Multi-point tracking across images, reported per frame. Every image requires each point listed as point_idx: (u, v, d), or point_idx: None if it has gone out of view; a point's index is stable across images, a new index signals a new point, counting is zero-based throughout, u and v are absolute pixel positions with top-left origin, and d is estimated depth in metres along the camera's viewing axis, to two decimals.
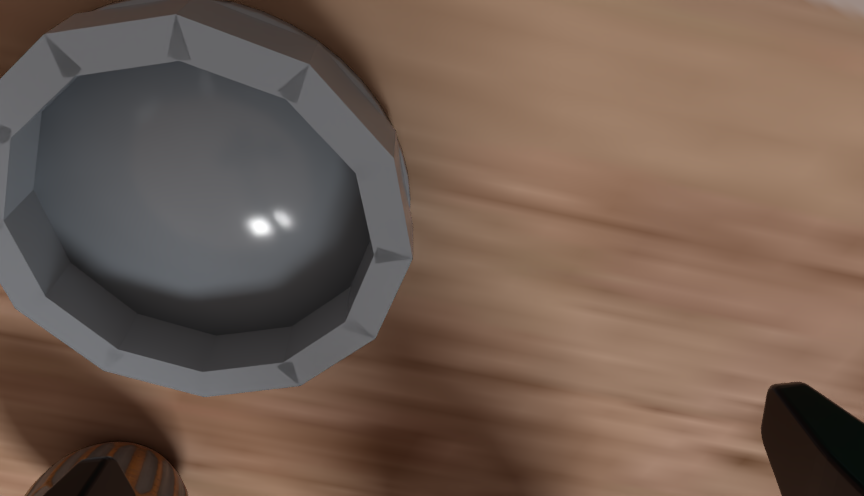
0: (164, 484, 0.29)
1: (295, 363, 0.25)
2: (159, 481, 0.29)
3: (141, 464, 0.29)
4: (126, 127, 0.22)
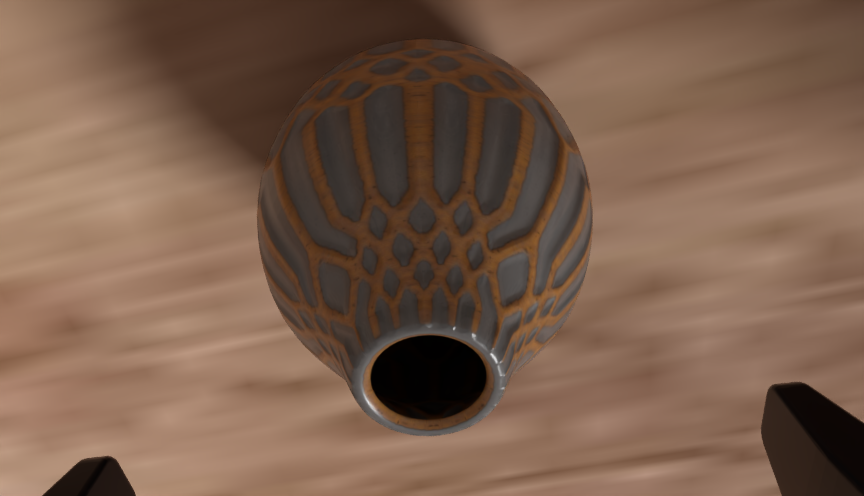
0: (484, 51, 0.14)
1: None
2: (472, 47, 0.14)
3: None
4: None
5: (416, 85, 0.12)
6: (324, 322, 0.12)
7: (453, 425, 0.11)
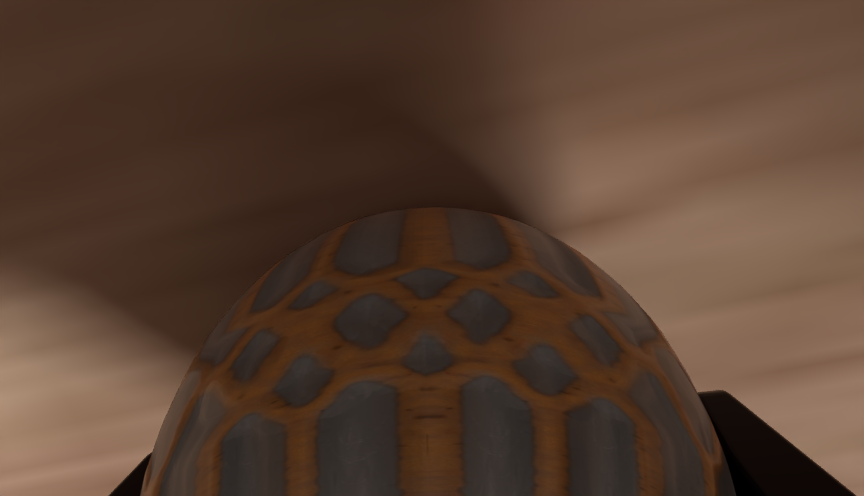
0: (542, 244, 0.08)
1: None
2: (522, 238, 0.08)
3: (442, 216, 0.08)
4: None
5: (424, 386, 0.06)
6: None
7: None
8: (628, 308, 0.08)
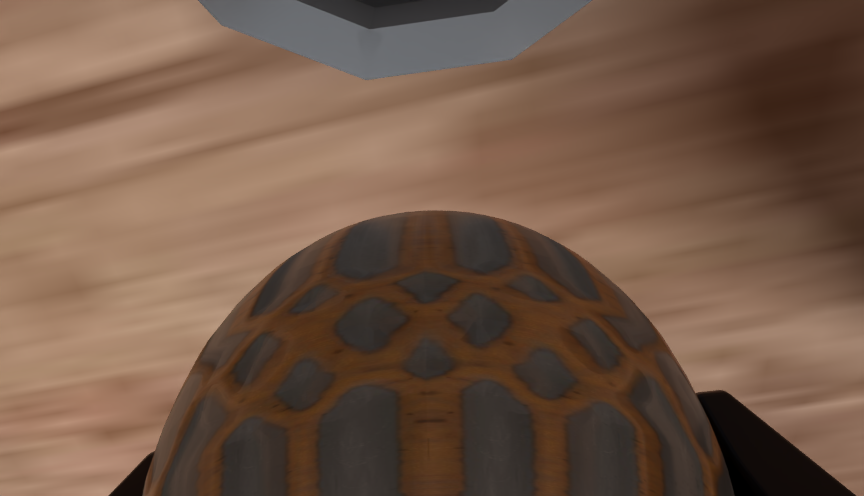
0: (543, 247, 0.08)
1: None
2: (523, 242, 0.08)
3: (443, 220, 0.09)
4: None
5: (426, 390, 0.06)
6: None
7: None
8: (628, 312, 0.08)
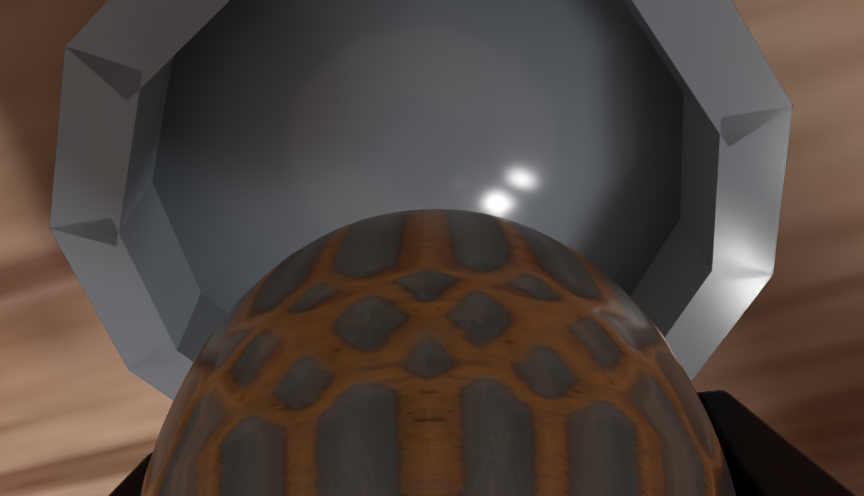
0: (543, 246, 0.08)
1: None
2: (523, 240, 0.08)
3: (442, 218, 0.08)
4: (261, 143, 0.14)
5: (426, 389, 0.06)
6: None
7: None
8: (628, 310, 0.08)
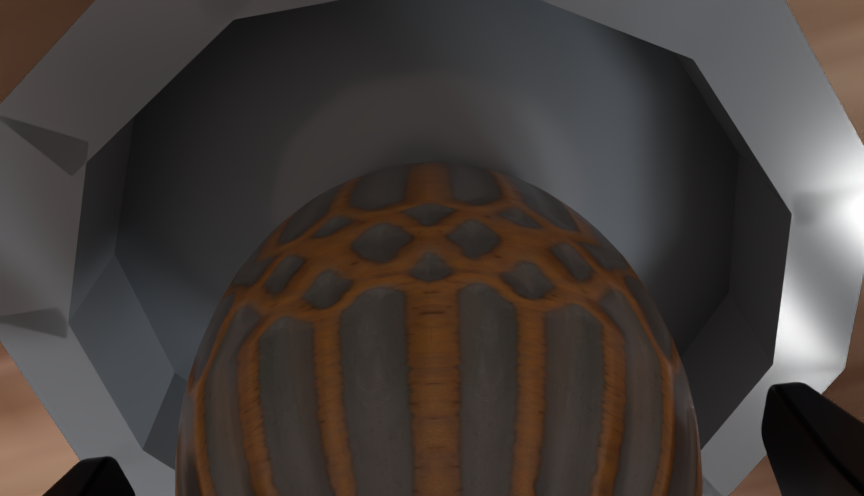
0: (529, 190, 0.09)
1: (703, 468, 0.13)
2: (512, 184, 0.09)
3: (442, 167, 0.10)
4: (240, 210, 0.12)
5: (429, 290, 0.07)
6: None
7: None
8: (602, 243, 0.09)
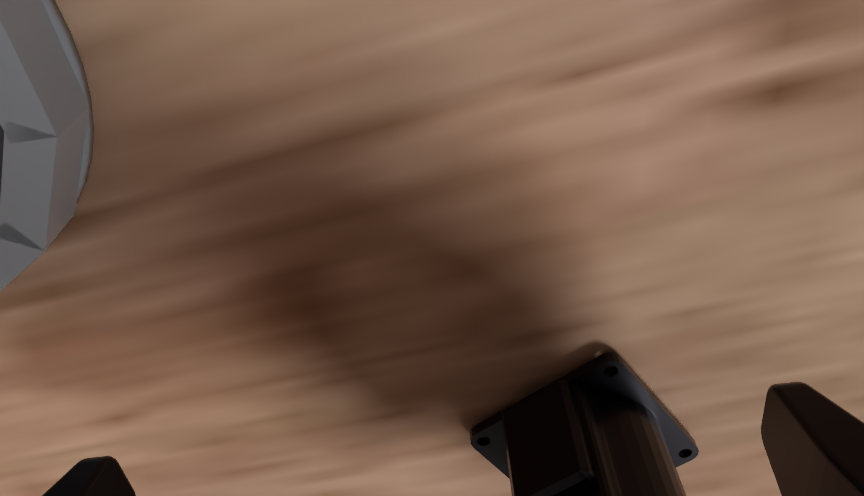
0: None
1: (11, 222, 0.19)
2: None
3: None
4: None
5: None
6: None
7: None
8: None
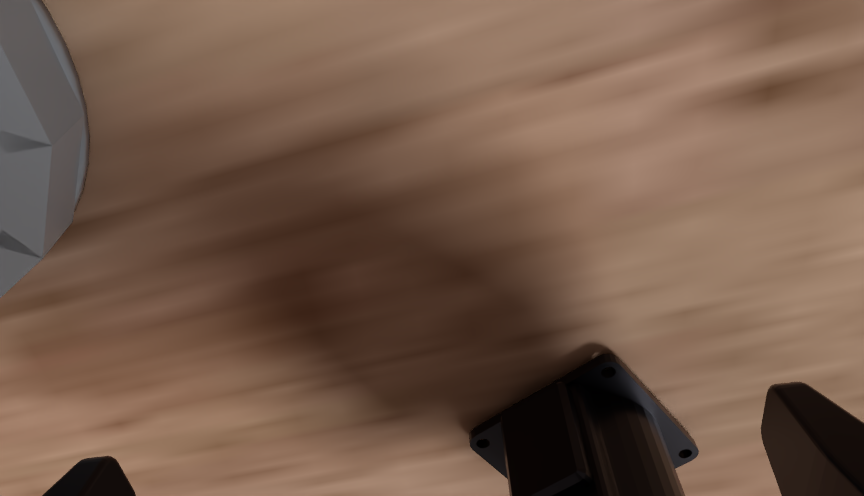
0: None
1: (9, 231, 0.19)
2: None
3: None
4: None
5: None
6: None
7: None
8: None
